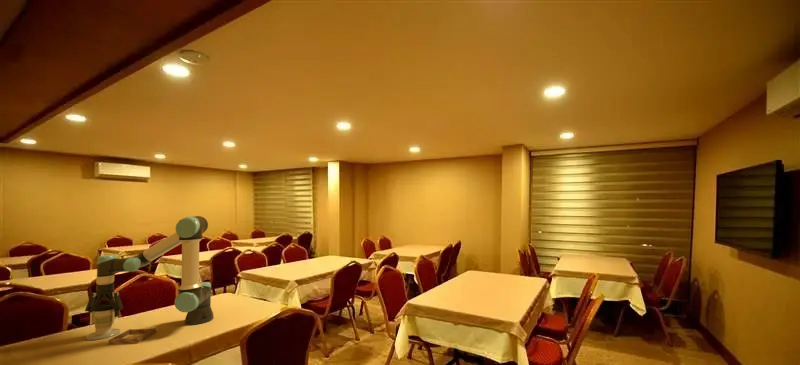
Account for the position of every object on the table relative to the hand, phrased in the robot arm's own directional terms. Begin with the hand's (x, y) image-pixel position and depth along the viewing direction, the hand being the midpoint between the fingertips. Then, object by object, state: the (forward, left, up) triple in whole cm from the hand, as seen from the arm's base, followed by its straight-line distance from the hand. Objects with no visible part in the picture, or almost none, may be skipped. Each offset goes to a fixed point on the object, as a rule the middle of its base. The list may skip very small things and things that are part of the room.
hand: (103, 323), depth 182 cm
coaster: (0, 0, -6) cm, 6 cm away
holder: (-20, +6, -6) cm, 22 cm away
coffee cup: (0, 0, -6) cm, 6 cm away
